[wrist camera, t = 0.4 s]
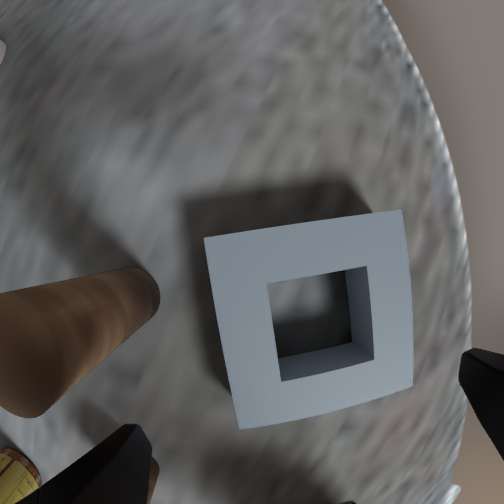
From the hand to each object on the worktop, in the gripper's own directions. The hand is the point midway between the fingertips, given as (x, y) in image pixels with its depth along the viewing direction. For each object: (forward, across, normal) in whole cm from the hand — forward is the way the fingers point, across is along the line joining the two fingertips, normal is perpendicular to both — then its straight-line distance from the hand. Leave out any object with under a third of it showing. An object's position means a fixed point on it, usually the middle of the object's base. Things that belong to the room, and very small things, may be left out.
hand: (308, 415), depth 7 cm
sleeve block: (+14, -2, +4) cm, 15 cm away
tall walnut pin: (+14, +10, 0) cm, 17 cm away
